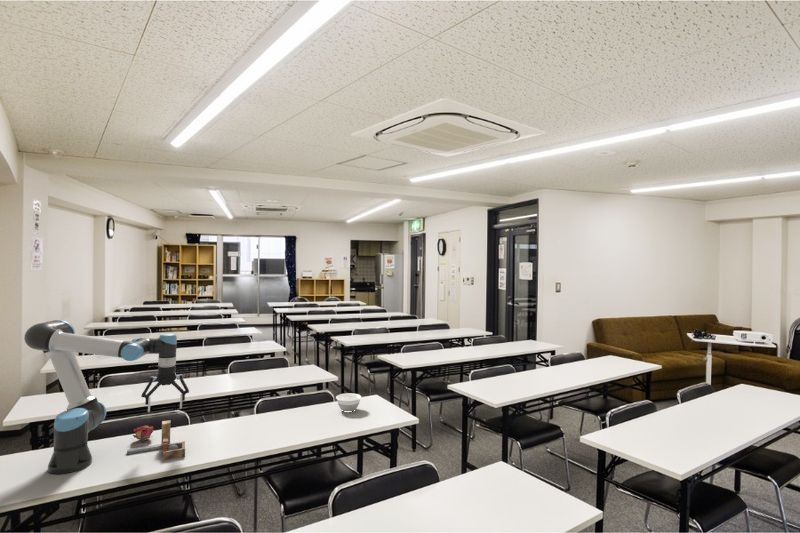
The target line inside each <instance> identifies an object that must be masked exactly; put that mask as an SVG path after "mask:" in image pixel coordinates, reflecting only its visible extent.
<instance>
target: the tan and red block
mask: <svg viewBox="0 0 800 533" xmlns="http://www.w3.org/2000/svg"><path fill="white" fill-rule="evenodd" d="M171 422H172V421H171V419H170V420H169V419H168V420H162V421H161V442H160V444H161V446H163V449H162V450H163V451H167V444H170V443H171V425H172V424H171ZM163 451H162V452H163Z"/></svg>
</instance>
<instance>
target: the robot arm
mask: <svg viewBox="0 0 800 533" xmlns="http://www.w3.org/2000/svg"><path fill="white" fill-rule="evenodd" d="M177 338H178V336H177V334H176V333H162V334H160V335H159V337H156V338H154V337H152V338H150V337H139V338H138V337H137V338H132V339H131V341H130V340H129V341H128V340H122V339H113V338H106V337H98V336H94V335H93V336H92V335H91V336H90V335H86V334H85V335H84V334H78V333H77V334H76V332H75V327H74V326H73V325H72V324H71V323H70V322H68V321H65V320H62V319H60V320H59V319H58V320H57V319H56V320H50V321H46V322H40V323H36V324H34V325H32V326H30V327H29V328H28V329H26V331H25V333H24V338H23V340H24V343H25V345H26V346H27V347H29V348H30V349H33V350H37V351H42V353H43V354H44V355H46V356H49V358H50V361H51V363H52V365H53V368H54V370H55V373H56V376H57V377H58V378H57V379H58V380H59V384H60V385H61V388H62V390H63V392H64V395H65V398H66V400H67V402H68V405H67V407H66V410H64V411H62V412H60V413H59V414H57V415H56V416H55V419H54V423H53V452H52V454H51V457H50V460H49V462H48V464H47V472H48V473H49V474H52V475H64V474H69V473H74V472H76V471H79V470H82V469H84V468H87V467H89V466H90V465H91V464H92V462H93V456H92V452H91V451H90V448H89V446H88V439H89V435H88V434H89V433H90V432H91V431H93V430H94V429H95V428H97V427H99V426H100V425H101V424H102V422H104V420H105V418H106V415H107V408H106V406H105V404H103V403H102V402H100V401H99V400H98V398H97V396H95V395H92V394H91V391H90V388H89V387H88V383H87V382H86V379H85V376H84V374H83V372H82V369H81V367H80V364H79V361H78V359H77V357H76V354H75V353H81V354H88V355H98V356H104V357H112V358H121V359H123V360H125V361H127V362H133V361H137V360H139V359H141V358H142V357H144V356H145V355H157V354H158V359H157V360H158V362H157V363H158V368H157V376H150V378H149V382H148V383H147V385H146V386H145V388H144V390H143V392H142V393H141V396H140V397H141V398H145V402H144V403H145V406H147V413H150V412H151V396H152V394H153V393H154V392H155V391H156V390H157V389H158V388H159V387H160V386H163V387H164V386H170V385H172V386H173V387H175V389H177V391H179V392H180V398H179V401H180V402H179V409H182V408H183V402H185V400H186V394H189V393H190V390H189V388H188V386H187V384H186V382H185V380H184V379H183V374H182V373H180V374H177V373H176V369H177V366H176V364H177V347H178V346H177V345H178V342H177V340H178V339H177ZM176 374H177V375H176ZM176 379H178V380H179V382H180V384H181V385H182V387H183V388H182V387H181V386H180V385H179V384H178V383H177V381H175V380H176ZM155 380H156V381H157V383H156V384H155V385H154V386H153V388H151V386H152V384H153V382H155ZM150 388H151V389H150ZM148 390H149V392H148ZM147 392H148V393H147Z"/></svg>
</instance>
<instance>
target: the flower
mask: <svg viewBox="0 0 800 533" xmlns="http://www.w3.org/2000/svg"><path fill="white" fill-rule="evenodd" d="M154 429H155V428H154V426H153V425H152V426H149V425H147V424H146V425H142V426H138V427H136V428H134V429H133V430H132V431H133V432H134V434H132V437H133V438H136V439H137V440H139V441H142V443H144V444H145V441H147V440H149V439H150V438H151V437H152V433H153V432H154Z"/></svg>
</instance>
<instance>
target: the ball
mask: <svg viewBox="0 0 800 533" xmlns="http://www.w3.org/2000/svg"><path fill="white" fill-rule="evenodd" d="M175 449H178V446H177V445H175V444H173V445H171V446H169V448H168V451H169V450H175Z"/></svg>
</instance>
